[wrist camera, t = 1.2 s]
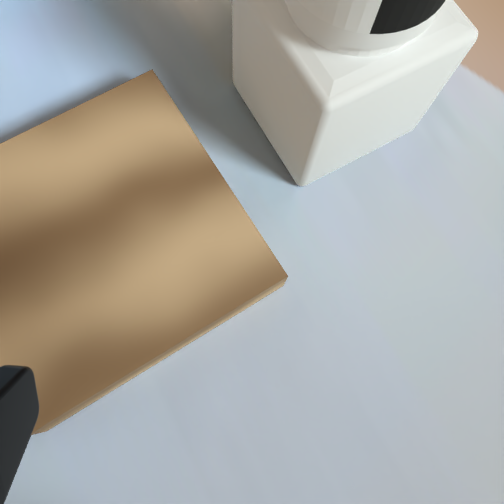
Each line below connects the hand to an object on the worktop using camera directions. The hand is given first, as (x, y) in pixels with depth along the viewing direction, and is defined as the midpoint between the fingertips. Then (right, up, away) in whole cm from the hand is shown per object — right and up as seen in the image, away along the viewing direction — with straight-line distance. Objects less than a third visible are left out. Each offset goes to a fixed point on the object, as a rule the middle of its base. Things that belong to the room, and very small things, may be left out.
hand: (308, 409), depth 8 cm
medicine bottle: (+3, +10, +17) cm, 20 cm away
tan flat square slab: (-8, +3, +15) cm, 17 cm away
